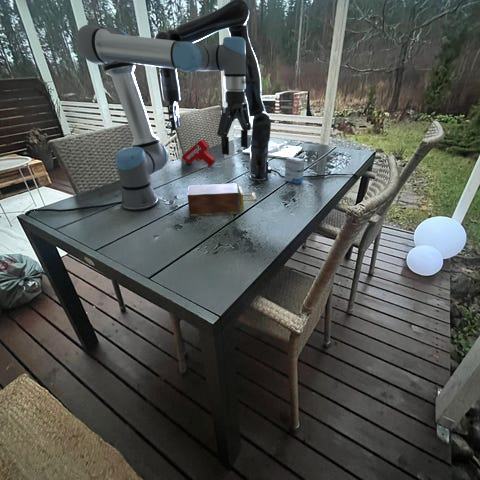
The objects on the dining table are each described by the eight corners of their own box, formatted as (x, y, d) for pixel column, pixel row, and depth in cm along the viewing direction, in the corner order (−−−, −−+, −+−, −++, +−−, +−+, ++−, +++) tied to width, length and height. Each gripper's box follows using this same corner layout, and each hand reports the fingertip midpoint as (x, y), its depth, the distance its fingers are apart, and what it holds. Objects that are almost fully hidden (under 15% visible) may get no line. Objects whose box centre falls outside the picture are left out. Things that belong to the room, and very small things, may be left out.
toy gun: (219, 159, 165) (203, 138, 161) (216, 161, 162) (200, 139, 158) (199, 174, 175) (184, 155, 171) (196, 176, 172) (181, 156, 168)
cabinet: (236, 203, 121) (236, 183, 116) (238, 213, 112) (238, 192, 107) (191, 205, 120) (188, 185, 115) (189, 216, 111) (187, 195, 106)
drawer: (254, 200, 121) (254, 185, 117) (257, 210, 113) (258, 193, 109) (198, 203, 119) (196, 187, 115) (197, 213, 111) (196, 196, 107)
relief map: (291, 159, 177) (291, 151, 174) (243, 153, 190) (243, 145, 187) (302, 149, 197) (303, 142, 194) (258, 144, 211) (258, 137, 208)
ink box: (302, 181, 142) (305, 159, 136) (297, 184, 139) (300, 161, 133) (289, 177, 147) (291, 156, 141) (284, 180, 144) (285, 158, 138)
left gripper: (223, 93, 87) (225, 159, 99) (260, 88, 105) (258, 145, 116) (204, 92, 91) (208, 156, 102) (244, 88, 108) (243, 142, 120)
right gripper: (176, 90, 113) (181, 130, 122) (181, 87, 125) (185, 125, 134) (158, 90, 113) (165, 131, 122) (164, 88, 125) (170, 125, 134)
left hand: (235, 150), depth 109 cm, fingers open, 13 cm apart
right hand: (175, 128), depth 128 cm, fingers open, 8 cm apart
